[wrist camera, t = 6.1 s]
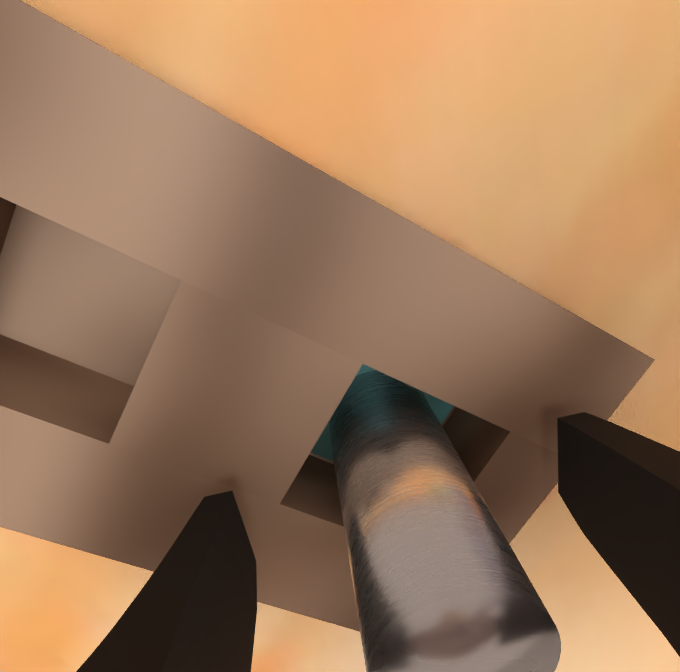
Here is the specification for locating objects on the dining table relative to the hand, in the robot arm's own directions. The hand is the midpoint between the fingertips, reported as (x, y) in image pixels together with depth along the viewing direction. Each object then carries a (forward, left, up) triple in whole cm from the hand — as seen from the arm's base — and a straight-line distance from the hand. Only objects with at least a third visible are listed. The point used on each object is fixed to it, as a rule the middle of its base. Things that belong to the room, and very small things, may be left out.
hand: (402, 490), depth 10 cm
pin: (0, 0, -3) cm, 3 cm away
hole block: (+4, 0, -4) cm, 6 cm away
